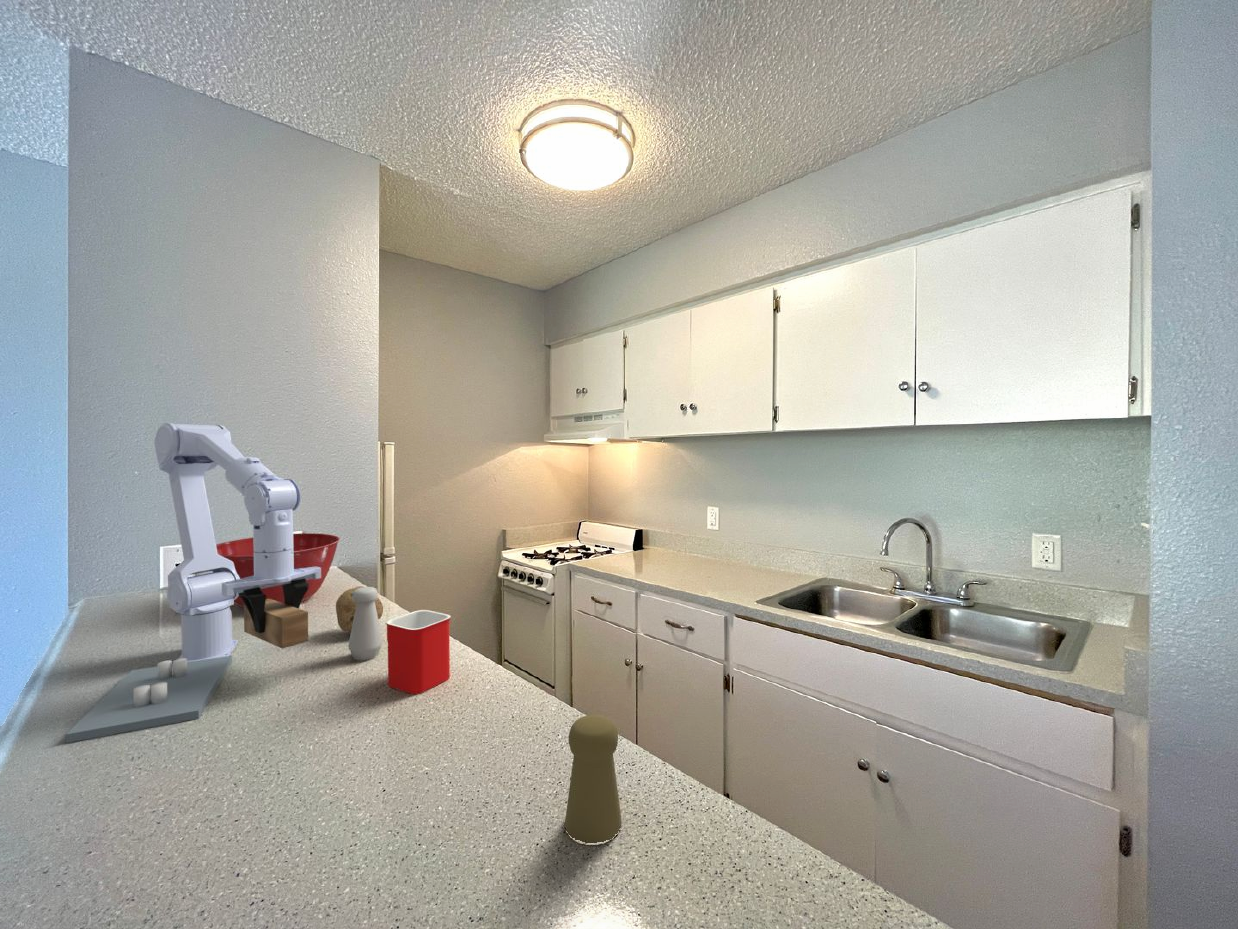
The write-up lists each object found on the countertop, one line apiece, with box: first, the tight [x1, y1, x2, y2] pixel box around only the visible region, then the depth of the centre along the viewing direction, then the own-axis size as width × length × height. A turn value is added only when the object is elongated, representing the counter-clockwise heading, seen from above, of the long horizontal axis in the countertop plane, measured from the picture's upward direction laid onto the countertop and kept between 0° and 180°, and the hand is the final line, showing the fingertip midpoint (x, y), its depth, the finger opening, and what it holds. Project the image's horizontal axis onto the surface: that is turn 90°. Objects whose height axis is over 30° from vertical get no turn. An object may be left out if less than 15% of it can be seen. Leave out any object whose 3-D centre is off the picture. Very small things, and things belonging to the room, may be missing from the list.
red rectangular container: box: [385, 609, 451, 695], centre depth 88 cm, size 12×8×11 cm
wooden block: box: [243, 599, 309, 649], centre depth 89 cm, size 14×4×5 cm, turn 57°
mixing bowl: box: [212, 532, 341, 608], centre depth 131 cm, size 28×28×16 cm
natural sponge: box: [335, 586, 384, 635], centre depth 109 cm, size 9×9×10 cm
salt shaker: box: [347, 586, 383, 662], centre depth 97 cm, size 6×6×13 cm
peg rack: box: [65, 655, 233, 744], centre depth 81 cm, size 22×14×4 cm, turn 27°
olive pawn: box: [564, 714, 623, 843], centre depth 54 cm, size 6×6×11 cm
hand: (275, 627), depth 89 cm, fingers closed on wooden block, 4 cm apart
